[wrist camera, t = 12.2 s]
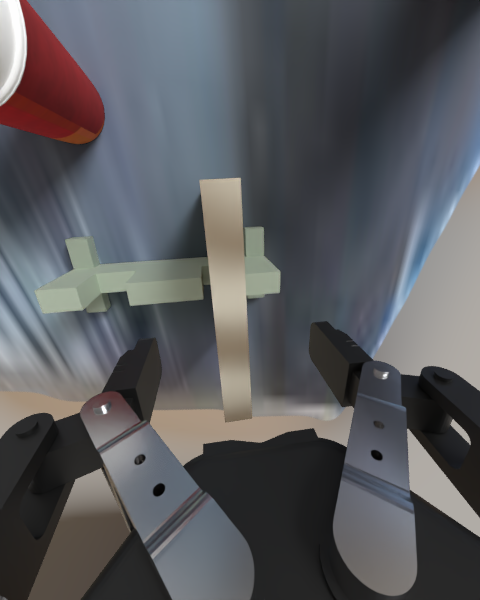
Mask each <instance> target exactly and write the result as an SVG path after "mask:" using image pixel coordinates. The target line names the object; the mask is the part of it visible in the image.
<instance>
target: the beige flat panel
mask: <svg viewBox="0 0 480 600" xmlns="http://www.w3.org/2000/svg"><path fill="white" fill-rule="evenodd" d="M200 189H201V198H202V208H203V217H204V227H205V236H206V246H207V255H208V265H209V274H210V284H211V293H212V303H213V312H214V321H215V331H216V340H217V350H218V359H219V369H220V378H221V388H222V397H223V407H224V415H225V422H231V421H238V420H245V419H251V418H252V405H251V385H250V364H249V343H248V322H247V301H246V281H245V260H244V239H243V218H242V197H241V178H227V179H208V180H200Z"/></svg>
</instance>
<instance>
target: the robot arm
mask: <svg viewBox="0 0 480 600" xmlns="http://www.w3.org/2000/svg"><path fill="white" fill-rule="evenodd" d="M309 354H310V357H311V360H312V361H313V363H314V364H315V366H316V367H317V369H318V370H319V372H320V374H321V375H322V377H323V378H324V380H325V381H326V383H327V384H328V386H329V387H330V389H331V391H332V392H333V394H334V395H335V397H336V398H337V400H338V401H339V403H340V404H341V406H342V407H347V406H353V408H354V413H353V418H352V424H351V429H350V435H349V439H348V445H347V447H345V446H343V445H341V444H339V443H337V442H334V441H331V440H328V439H323V438H318V437H317V435H316V432H315V430H314V429H313V428H312V429H305V430H299V431H291V432H287V433H284V434H282V435H279V436H277V437H275V438H272V439H270V440H268V441H265V442H262V443H256V442H246V441H235V440H229V441H222V442H215V443H208V444H203V454H202V455H200V456H198V457H196V458H194V459H192V460H191V461H189V462H188V463H186V464H185V465H184V466H182V465H181V463H180V462H179V461H178V460H177V458H176V457H175V456H174V454H173V453H172V452H171V451H170V450H169V448H168V447H167V446H166V444H165V443H164V442H163V441H162V439H161V438H160V436H159V435H158V434H157V433H156V431H155V430H154V429H153V428H152V426H151V425H150V420H151V416H152V412H153V407H154V403H155V399H156V395H157V391H158V387H159V383H160V379H161V373H162V367H161V360H160V355H159V350H158V345H157V341H156V338H147V339H139V340H138V342H137V345H136V347H135V349H134V350H128V351H127V352H126V353H125V354H124V355H122V356H121V357H120V359H119V361H118V363H117V366H116V367H115V369H114V370H113V373H112V374H111V376H110V378H109V380H108V382H107V384H106V386H105V388H104V389H103V391H102V393H101V394H98V395H96V396H94V397H92V398H91V399H89V400H88V401H87V402H86V403H85V404H84V405H83V407H82V409H81V411H80V413H78V414H75V415H72V416H69V417H66V418H63V419H60V420H58V421H54V419H53V417H52V415H51V414H48V413H39V414H34V415H31V416H29V417H26V418H24V419H22V420H21V421H19V422H17V423H16V424H14V425H13V426H12V427H11V428H9V429H8V431H6V432H5V434H4V435H3V436H2V438H1V439H0V600H27V599H28V597H29V594H30V592H31V589H32V587H33V584H34V582H35V579H36V577H37V574H38V572H39V569H40V567H41V564H42V562H43V559H44V557H45V554H46V552H47V549H48V547H49V544H50V542H51V539H52V537H53V534H54V532H55V529H56V527H57V524H58V522H59V519H60V517H61V514H62V512H63V509H64V506H65V504H66V502H67V499H68V497H69V494H70V492H71V489H72V487H73V484H74V482H75V479H77V478H79V477H82V476H84V475H86V474H88V473H91V472H93V471H95V470H97V469H100V468H101V469H102V472H103V474H104V476H105V478H106V480H107V482H108V485H109V486H110V489H111V491H112V493H113V495H114V497H115V500H116V501H117V504H118V506H119V508H120V511H121V513H122V515H123V518H124V520H125V522H126V525H127V527H128V529H129V531H130V534H129V536H128V537H127V538H126V540H125V541H124V542H123V544H122V545H121V546H120V548H119V549H118V550H117V552H116V553H115V554H114V556H113V557H112V558H111V560H110V561H109V562H108V564H107V565H106V567H105V568H104V569H103V570H102V572H101V573H100V574H99V576H98V577H97V578H96V580H95V581H94V583H93V584H92V585H91V587H90V588H89V589H88V591H87V592H86V593H85V595H84V596H83V597H82V599H81V600H480V537H479V536H477V535H476V534H474V533H473V532H471V531H470V530H468V529H467V528H465V527H464V526H462V525H461V524H459V523H458V522H456V521H455V520H454V519H452V518H451V517H449V516H448V515H446V514H445V513H443V512H442V511H440V510H439V509H437V508H436V507H434V506H433V505H431V504H430V503H429V502H427V501H426V500H424V499H423V498H421V497H420V496H418V495H417V494H415V493H414V492H412V491H411V490H410V487H409V467H408V466H409V465H408V443H407V429H409V430H410V431H411V432H412V434H413V435H414V436H415V437H416V439H417V440H418V441H419V442H420V444H421V445H422V446H423V447H424V449H426V451H427V452H428V454H429V455H430V456H431V457H432V459H433V460H434V461H435V462H436V464H437V465H438V466H439V467H440V468H441V470H442V471H443V472H444V474H445V475H446V476H447V477H448V479H449V480H450V481H451V482H452V483H453V485H454V486H455V487H456V488H457V490H458V491H459V492H460V494H461V495H462V496H463V497H464V499H465V500H466V501H467V502H468V504H469V505H470V506H471V507H472V508H473V510H474V511H475V512H476V514H477V515H478V516H479V517H480V391H479V390H477V389H476V388H475V387H473V386H472V385H471V384H469V383H468V382H467V381H465V380H464V379H463V378H461V377H460V376H459V375H457V374H456V373H454V372H452V371H450V370H447V369H444V368H441V367H435V366H428V367H424V368H423V369H422V371H421V374H420V376H412V375H402V374H400V372H399V371H398V370H397V369H395V367H393V366H391V365H389V364H387V363H384V362H381V361H374V360H373V359H372V358H371V357H370V356H369V355H368V354H366V353H365V352H364V351H363V350H362V349H361V348H360V347H359V346H358V345H357V344H356V343H355V342H354V341H353V340H352V339H351V338H350V337H349V336H348V335H347V334H345V333H344V332H342V331H340V330H335V329H334V328H333V327H332V326H331V325H330V324H329V323H328V322H327V321H325V322H315V323H312V324H311V329H310V341H309ZM452 419H454V420H455V421H456V422H457V423H458V424H459V425H460V426H461V427H462V428H463V429H464V430H465V431H466V433H467V434H468V436H469V438H470V441H471V445H469V443H468V442H467V441H465V439H463V438H462V436H461V435H460V434H459V433H458V432H457V431H456V430H455V429H453V427H452V426H451V425H450V424H451V422H452Z"/></svg>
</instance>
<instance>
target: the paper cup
mask: <svg viewBox="0 0 480 600" xmlns="http://www.w3.org/2000/svg"><path fill="white" fill-rule="evenodd" d="M104 120H105V113H104V106H103V103H102V100H101V98H100V95H99V93H98V92H97V90H96V88H95V87H94V85H93V84H92V83H91V81H90V80H89V79H88V77H87V76H86V75H85V73H84V72H83V71H82V69H81V68H80V67H79V66H78V64H77V63H76V62H75V60H74V59H73V58H72V57H71V55H70V54H69V53H68V52H67V50H66V49H65V48H64V47H63V45H62V44H61V43H60V42H59V40H58V39H57V38H56V37H55V35H54V34H53V33H52V32H51V30H50V29H49V28H48V27H47V25H46V24H45V23H44V22H43V20H42V19H41V18H40V17H39V15H38V14H37V13H36V12H35V10H34V9H33V8H32V7H31V5H30V4H29V3H28V2H27V0H0V124H3V125H6V126H10V127H13V128H17V129H20V130H24V131H27V132H31V133H34V134H38V135H42V136H45V137H49V138H52V139H56V140H60V141H64V142H68V143H73V144H84V143H88V142H91V141H92V140H94V139H95V138H96V137H97V136H98V135H99V134H100V132H101V131H102V128H103V125H104Z"/></svg>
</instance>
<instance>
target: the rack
mask: <svg viewBox="0 0 480 600" xmlns="http://www.w3.org/2000/svg"><path fill="white" fill-rule="evenodd" d="M243 232H244V260H245V281H246V296H247V298H248V299H250V298H261V297H264V294H271V293H280V271H279V270H278V269H277V268H276V267H275V266H274V265H273V264H272V263H271V262H270V261H269V260H268V259H267V258H266V257H265V256H264V228H263V227H244V228H243ZM65 242H66V245H67V249H68V252H69V255H70V258H71V262H72V265H73V268H74V270H72V271H70V272H68V273H66V274H64V275H62V276H61V277H59V278H57V279H55V280H53V281H51V282H50V283H48V284H46V285H44V286H42V287H40V288H39V289H37V290H35V291H34V292H35V294H36V297H37V299H38V302H39V305H40V307H41V310H42V312H43V314H44V313H56V312H67V311H78V310H84V309H85V308H86V310H87V313H94V312H105V311H107V310H108V309H109V308H110V307H111V304H110V301H109V297H108V293H111V292H123V291H127V295H128V299H129V303H130V306H135V305H146V304H158V303H169V302H180V301H192V300H203V289H204V285H208V284H210V274H209V265H208V257H197V258H183V259H169V260H154V261H140V262H126V263H112V264H100V263H99V259H98V255H97V252H96V248H95V244H94V240H93V236H90V237H73V238H69V239H66V240H65Z"/></svg>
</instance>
